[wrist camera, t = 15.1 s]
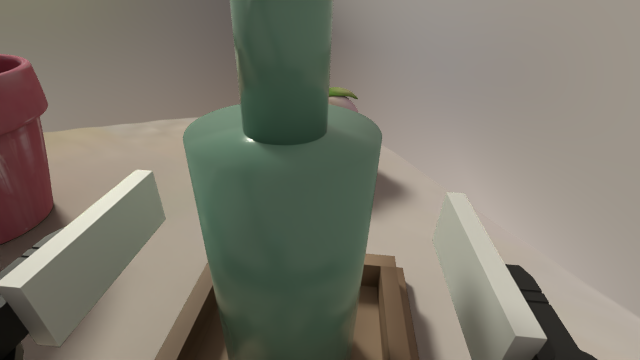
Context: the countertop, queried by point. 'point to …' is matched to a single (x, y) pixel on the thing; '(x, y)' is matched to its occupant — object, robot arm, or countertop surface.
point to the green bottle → (284, 190)
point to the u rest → (370, 329)
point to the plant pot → (22, 150)
